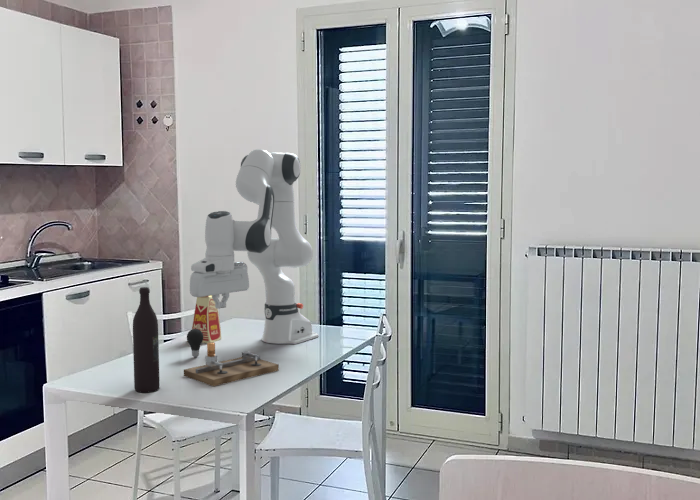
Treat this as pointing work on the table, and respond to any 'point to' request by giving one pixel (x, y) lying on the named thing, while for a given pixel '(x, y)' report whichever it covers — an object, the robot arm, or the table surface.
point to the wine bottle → (145, 346)
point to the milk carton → (207, 319)
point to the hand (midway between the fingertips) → (220, 307)
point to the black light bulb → (195, 341)
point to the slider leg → (212, 356)
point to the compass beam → (232, 362)
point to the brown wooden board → (231, 372)
